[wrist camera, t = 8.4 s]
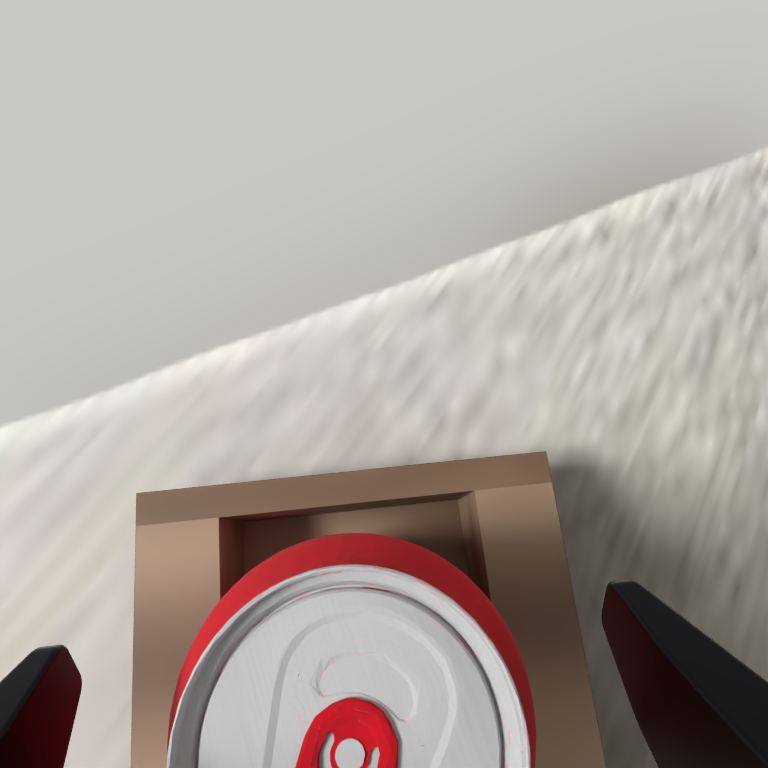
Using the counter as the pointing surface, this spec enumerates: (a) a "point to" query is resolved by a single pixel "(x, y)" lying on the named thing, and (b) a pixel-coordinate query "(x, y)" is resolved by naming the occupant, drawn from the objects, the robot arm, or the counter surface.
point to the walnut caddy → (376, 516)
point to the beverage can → (353, 667)
